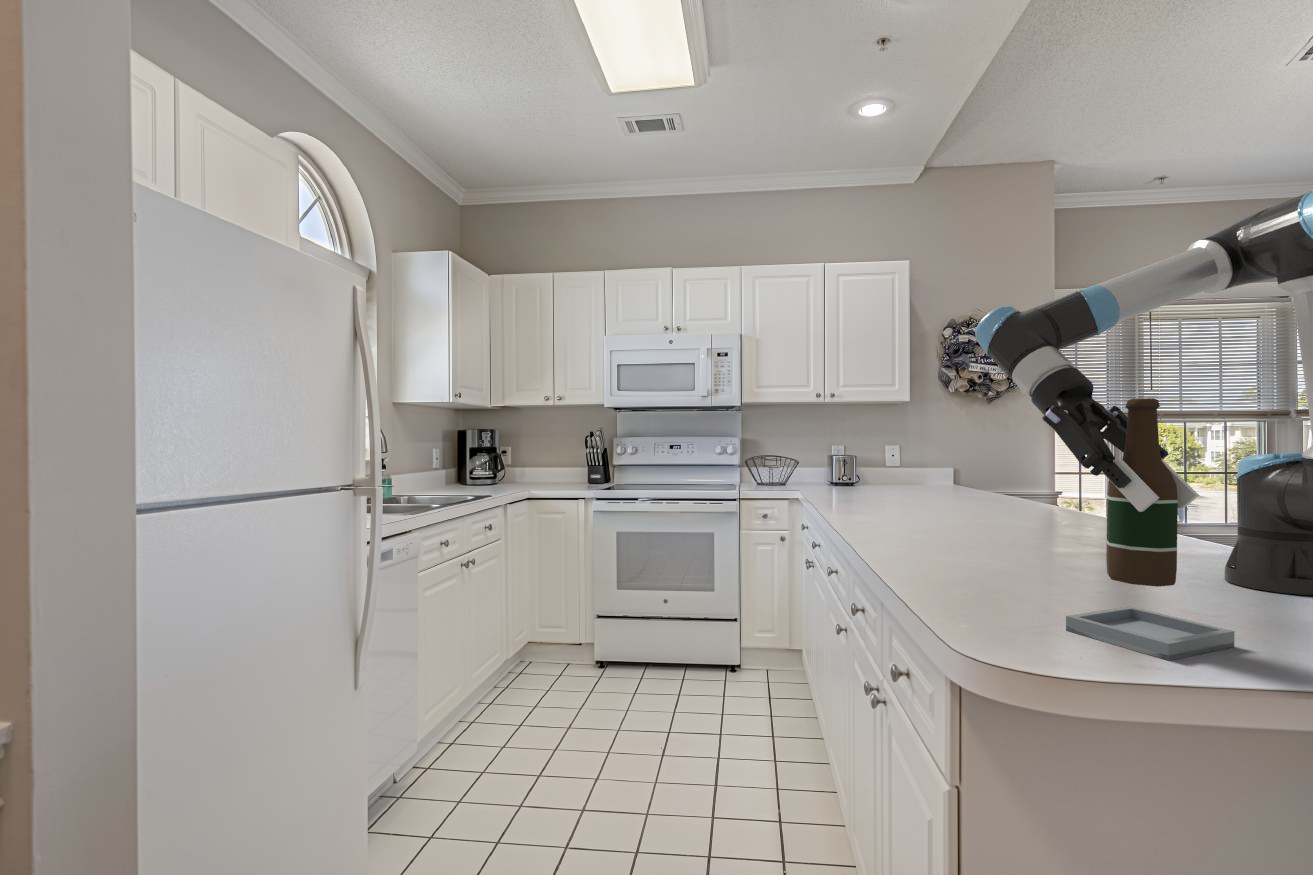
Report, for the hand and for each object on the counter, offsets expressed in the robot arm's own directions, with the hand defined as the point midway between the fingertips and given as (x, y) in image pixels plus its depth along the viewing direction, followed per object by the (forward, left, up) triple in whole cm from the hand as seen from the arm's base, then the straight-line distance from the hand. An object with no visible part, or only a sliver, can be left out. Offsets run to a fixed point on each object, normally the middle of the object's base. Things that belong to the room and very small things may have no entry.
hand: (1169, 503), depth 85 cm
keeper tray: (-1, -3, -18) cm, 18 cm away
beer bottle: (0, -4, -11) cm, 11 cm away
